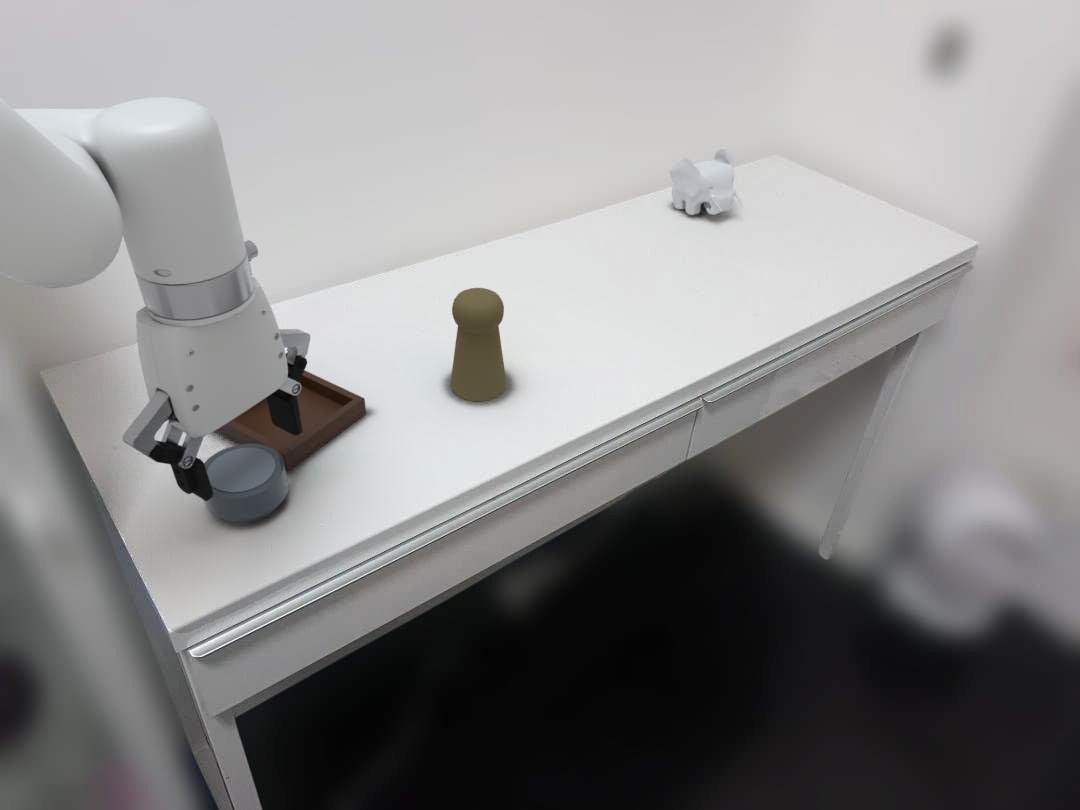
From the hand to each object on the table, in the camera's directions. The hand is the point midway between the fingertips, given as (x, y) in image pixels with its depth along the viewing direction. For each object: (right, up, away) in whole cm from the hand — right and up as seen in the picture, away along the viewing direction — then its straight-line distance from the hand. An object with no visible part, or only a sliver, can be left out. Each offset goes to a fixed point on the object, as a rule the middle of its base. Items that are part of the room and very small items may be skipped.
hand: (245, 459), depth 68 cm
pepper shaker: (+18, +7, +18) cm, 27 cm away
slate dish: (-1, -4, +3) cm, 5 cm away
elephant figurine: (+50, +35, +56) cm, 83 cm away
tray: (-3, +4, +13) cm, 14 cm away
